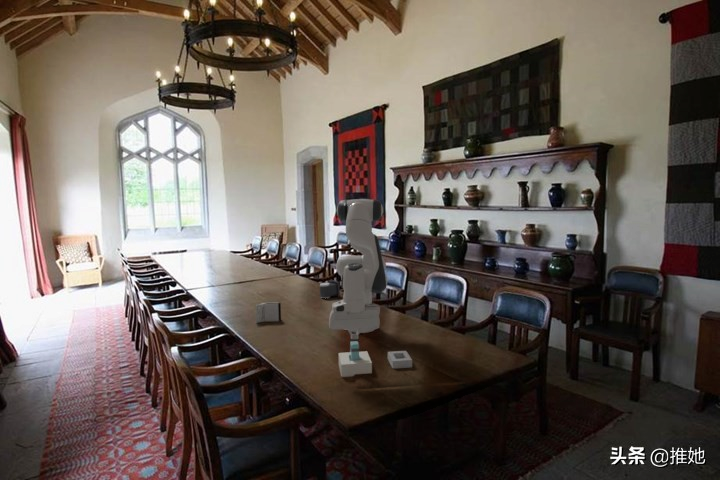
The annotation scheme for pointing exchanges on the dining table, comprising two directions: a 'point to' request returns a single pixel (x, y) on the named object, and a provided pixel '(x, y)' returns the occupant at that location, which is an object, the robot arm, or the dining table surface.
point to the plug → (354, 351)
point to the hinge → (268, 312)
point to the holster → (399, 359)
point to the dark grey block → (329, 289)
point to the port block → (354, 364)
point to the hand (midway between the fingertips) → (354, 338)
